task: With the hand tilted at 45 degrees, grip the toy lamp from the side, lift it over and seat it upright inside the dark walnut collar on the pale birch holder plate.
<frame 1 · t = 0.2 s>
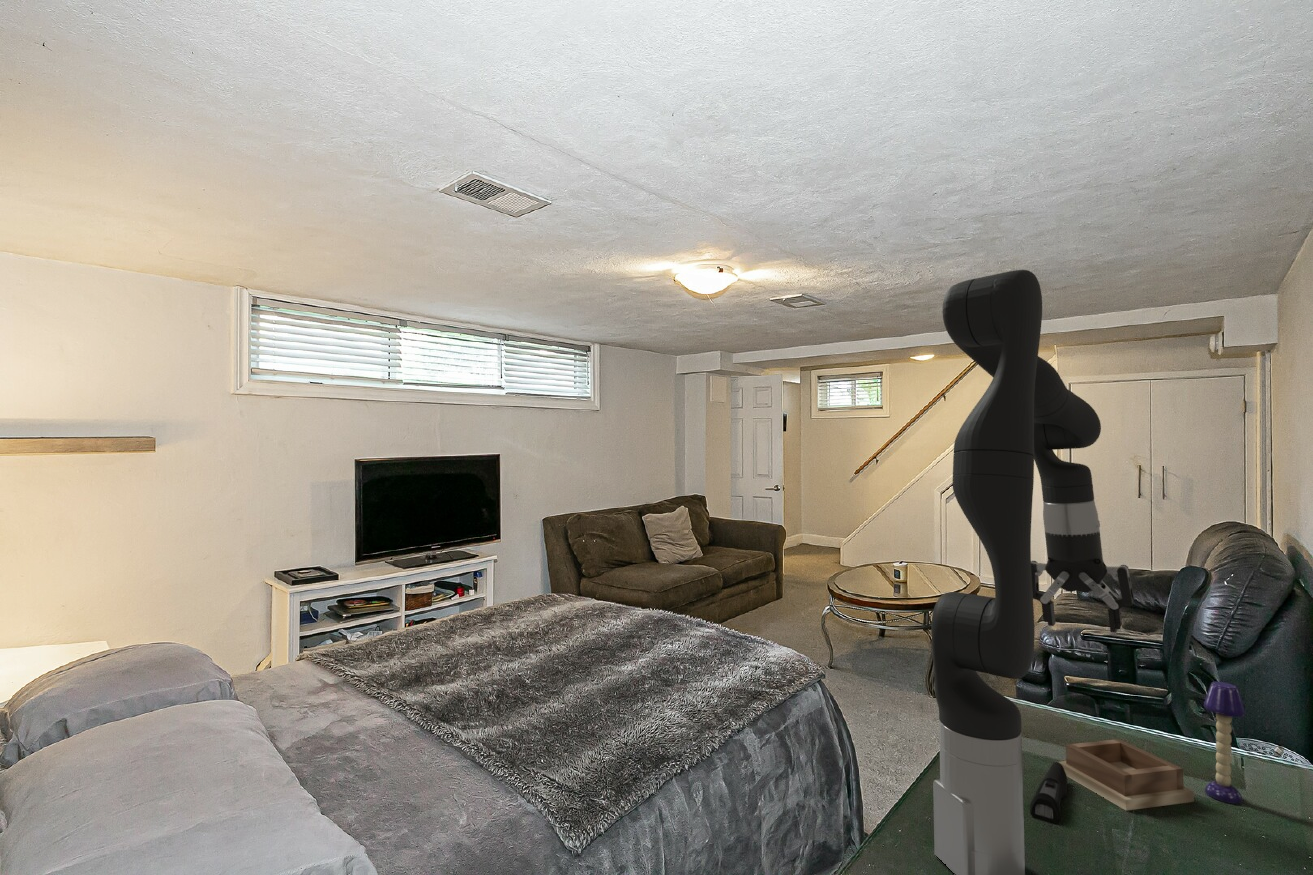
hand: (1082, 627, 104), 23 cm above the table, tool pointing down, fingers open, 8 cm apart
electric trimmer: (1050, 801, 95), on the table
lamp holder: (1122, 785, 99), on the table
toy lamp: (1226, 798, 96), on the table
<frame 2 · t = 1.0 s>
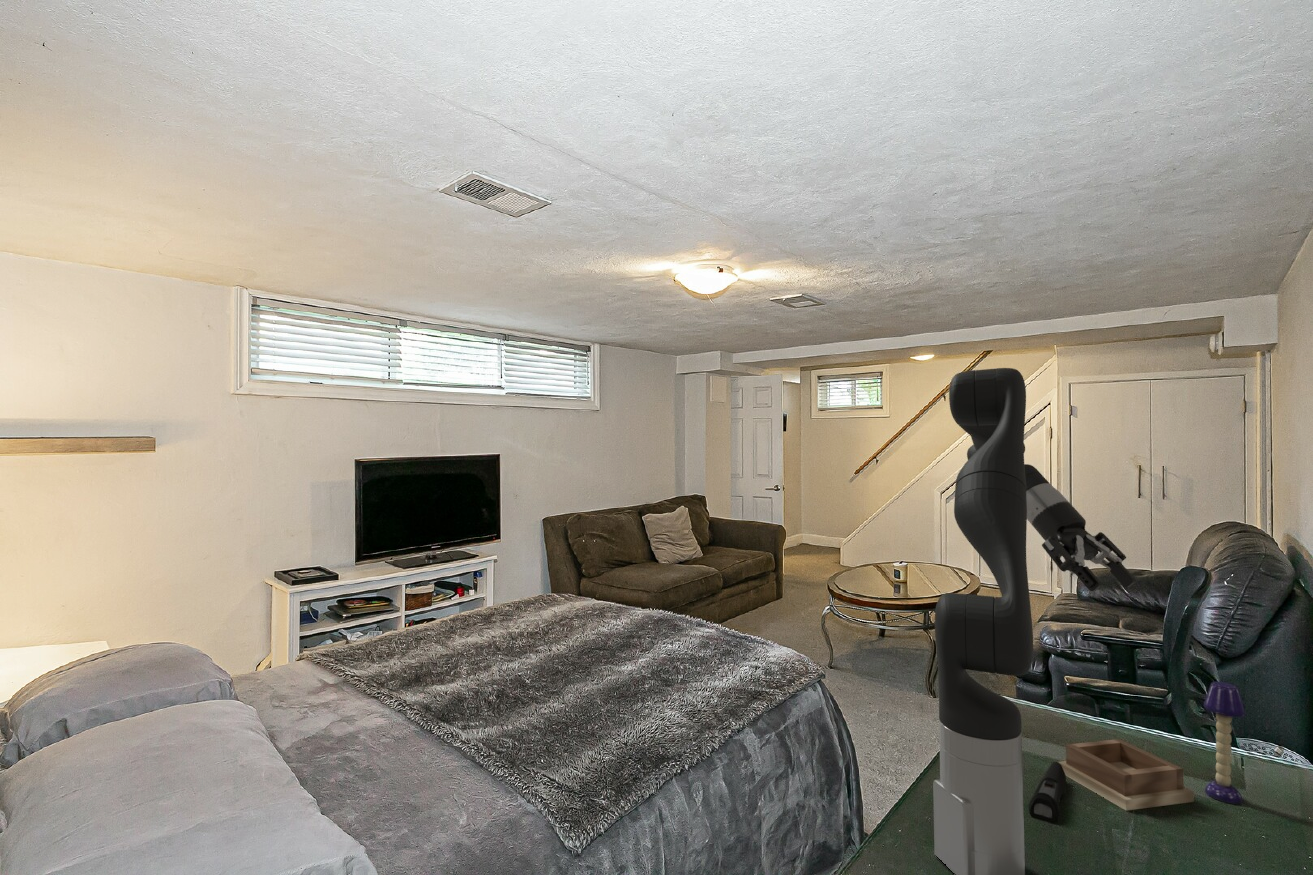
hand: (1114, 586, 109), 29 cm above the table, tool tilted 45°, fingers open, 8 cm apart
nothing on the table moved.
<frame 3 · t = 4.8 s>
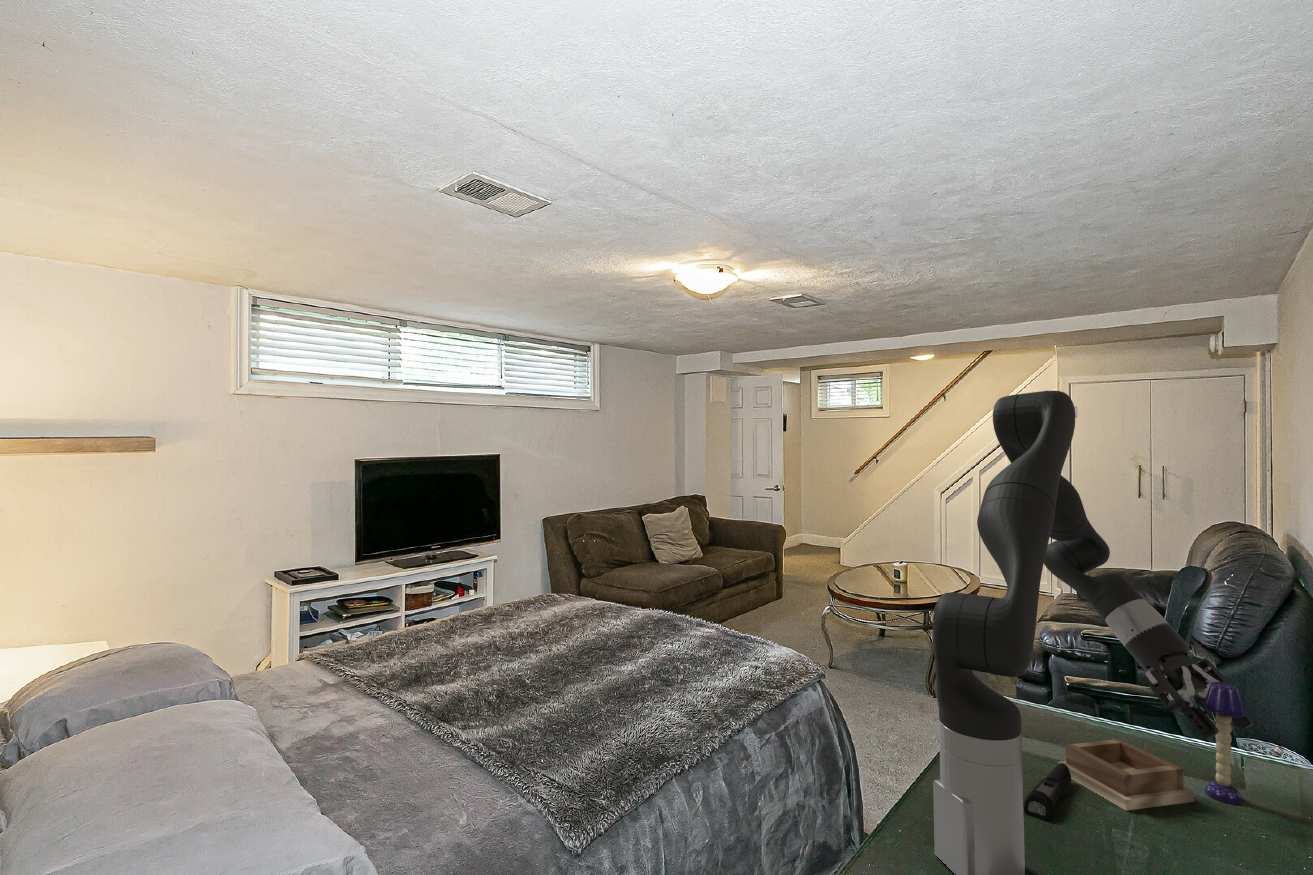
hand: (1230, 731, 95), 10 cm above the table, tool tilted 45°, fingers open, 8 cm apart
nothing on the table moved.
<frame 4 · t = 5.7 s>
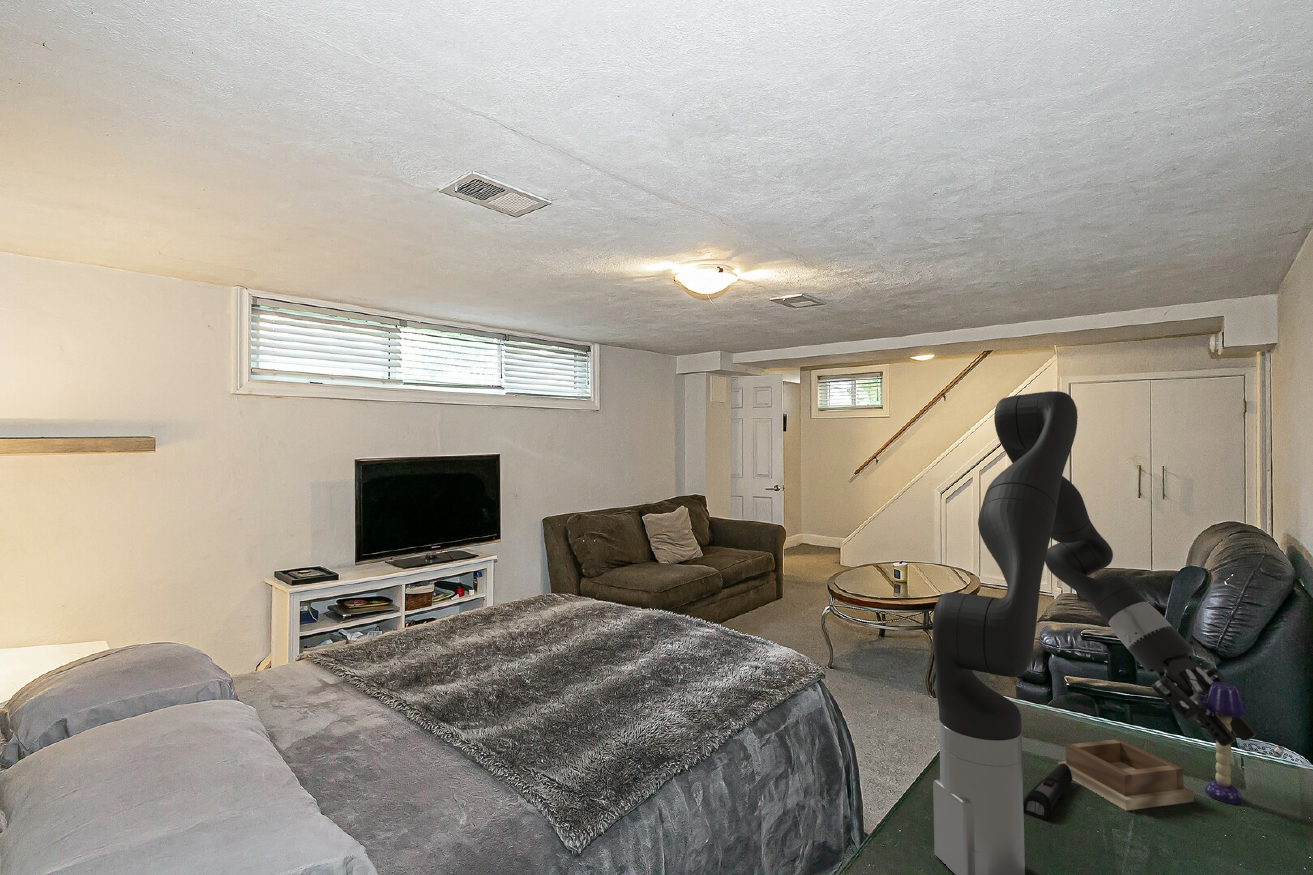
hand: (1240, 740, 94), 9 cm above the table, tool tilted 45°, fingers closed on toy lamp, 4 cm apart
toy lamp: (1226, 798, 96), on the table, touching gripper
everything else where it was.
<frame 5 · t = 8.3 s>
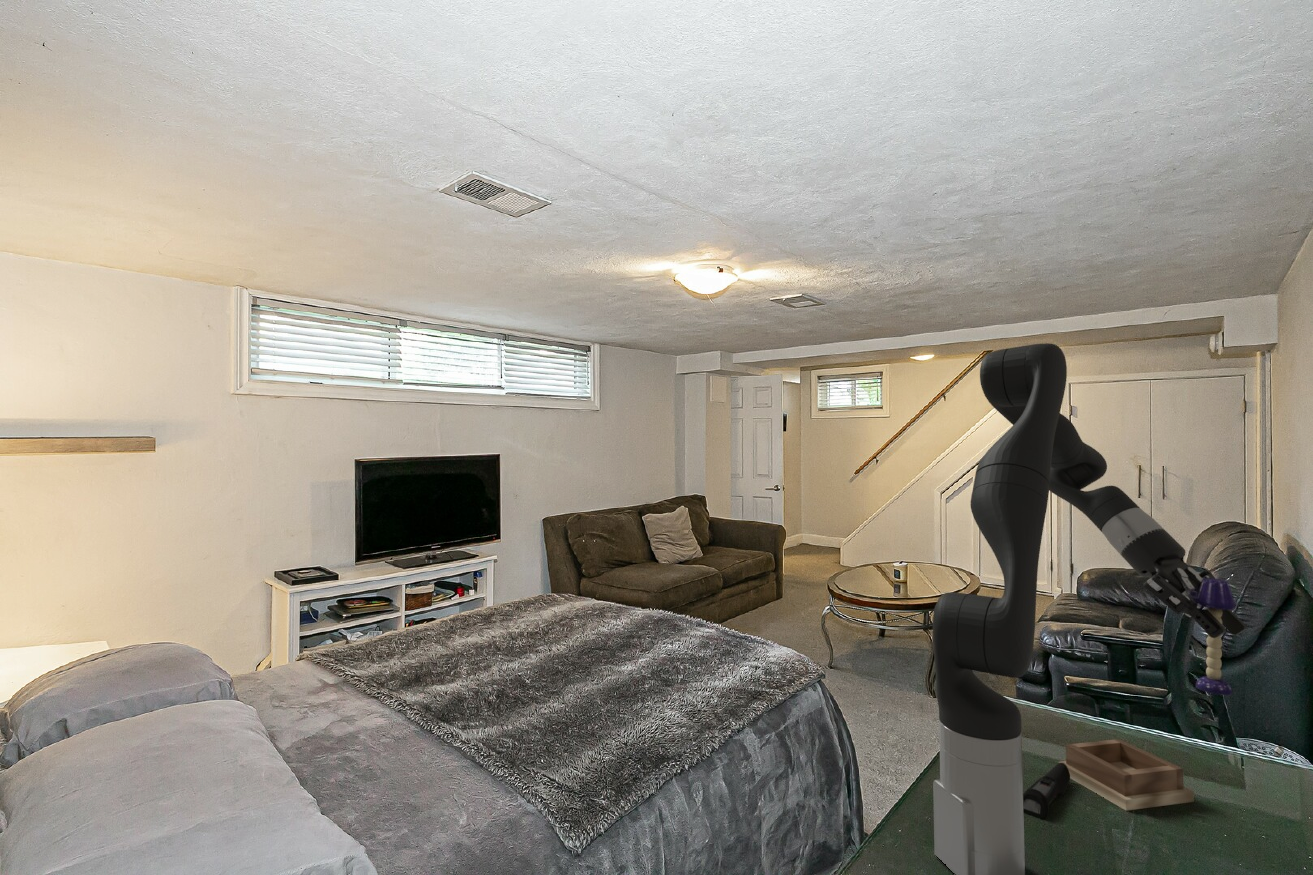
hand: (1230, 632, 95), 25 cm above the table, tool tilted 45°, fingers closed on toy lamp, 4 cm apart
toy lamp: (1217, 692, 96), point 15 cm above the table, touching gripper
everything else where it was.
when the fingers open (12 cm above the table, at t = 13.0 s): toy lamp drops 1 cm, resting on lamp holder.
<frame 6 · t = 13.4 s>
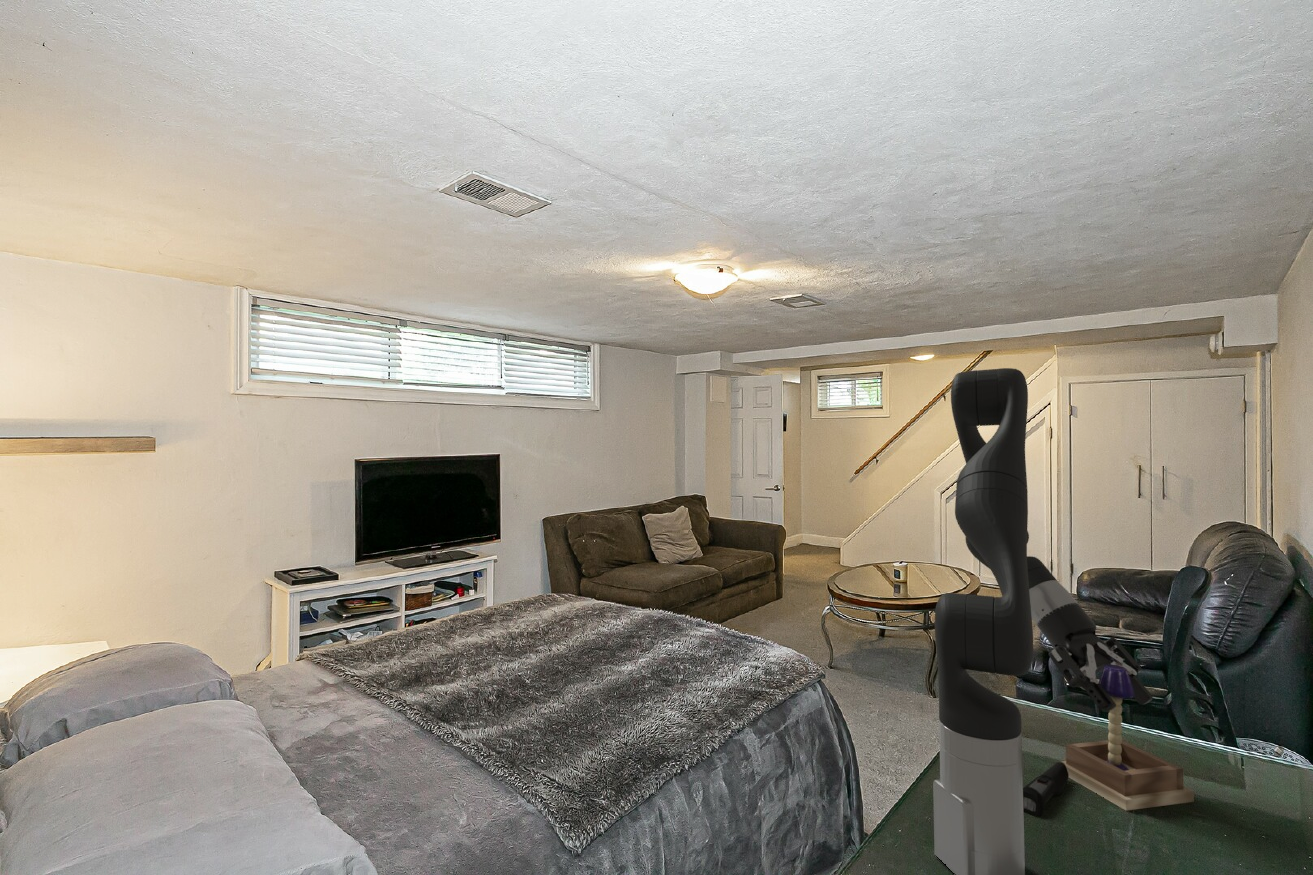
hand: (1129, 705, 98), 13 cm above the table, tool tilted 45°, fingers open, 8 cm apart
toy lamp: (1117, 777, 99), point 1 cm above the table, touching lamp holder
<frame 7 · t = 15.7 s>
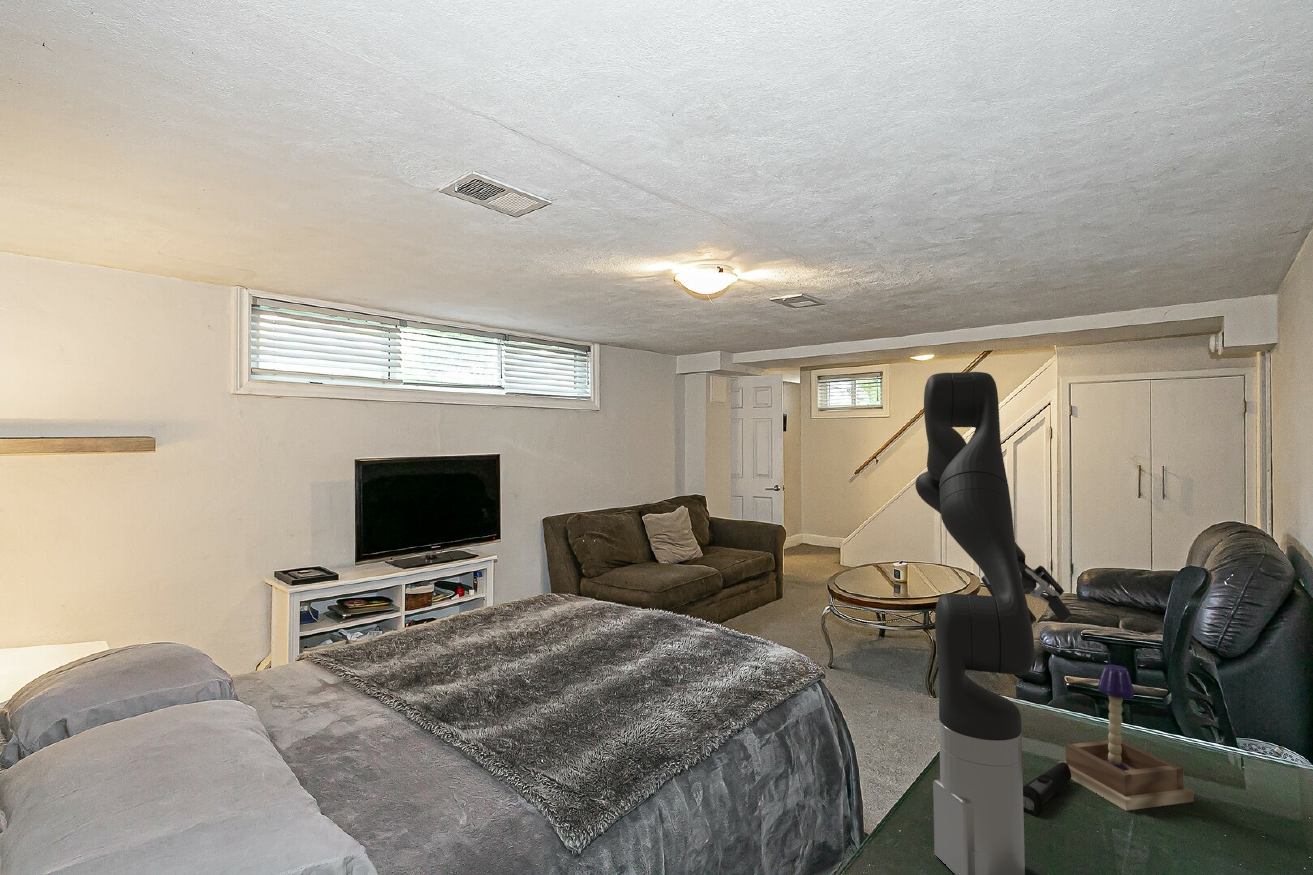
hand: (1049, 621, 111), 23 cm above the table, tool tilted 45°, fingers open, 8 cm apart
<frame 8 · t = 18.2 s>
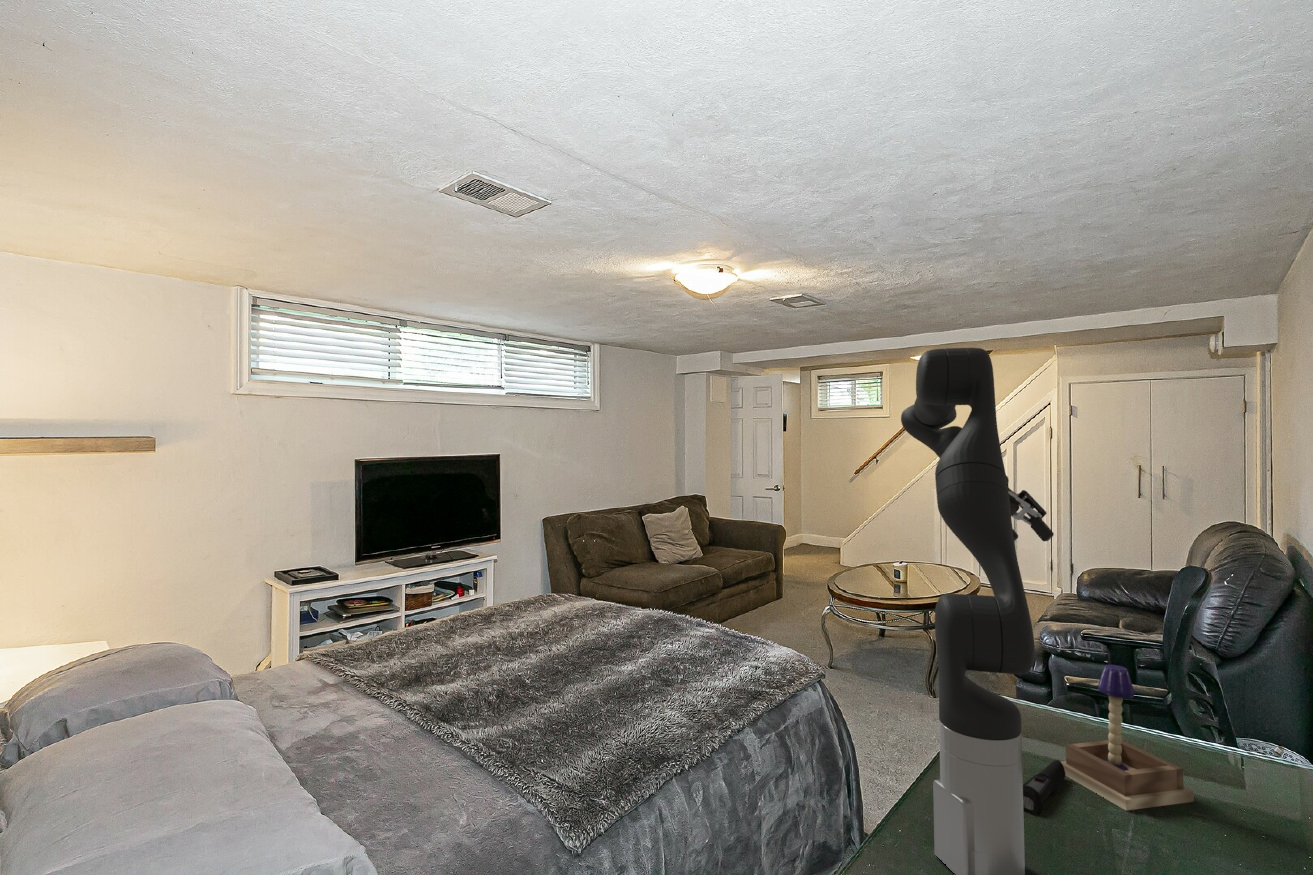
hand: (1031, 539, 111), 37 cm above the table, tool tilted 45°, fingers open, 8 cm apart
at the end: toy lamp 0.7 cm off-centre on the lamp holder, point 1.3 cm above the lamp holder's base; toy lamp tilted 0°; the gripper is holding nothing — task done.
